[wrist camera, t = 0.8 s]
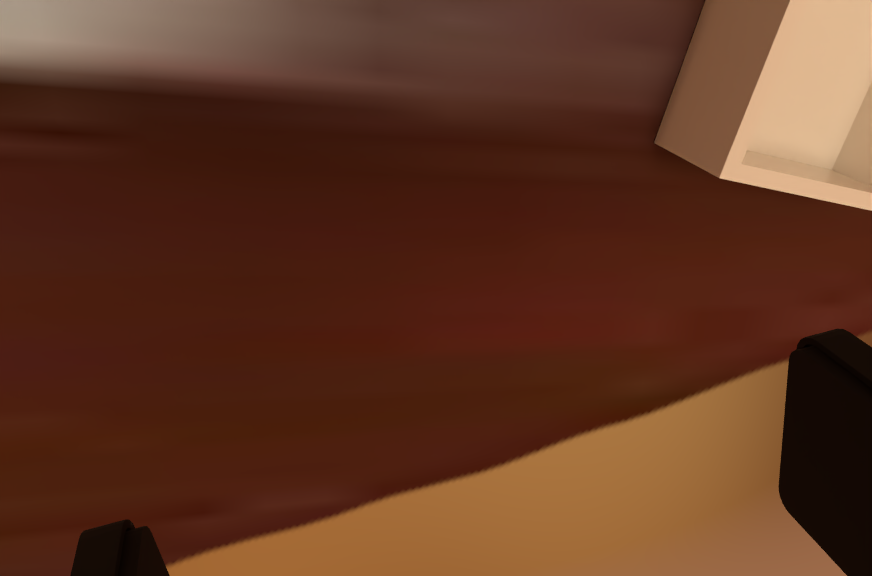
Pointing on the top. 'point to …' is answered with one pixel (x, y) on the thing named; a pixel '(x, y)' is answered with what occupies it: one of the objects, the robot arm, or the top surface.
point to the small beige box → (778, 97)
